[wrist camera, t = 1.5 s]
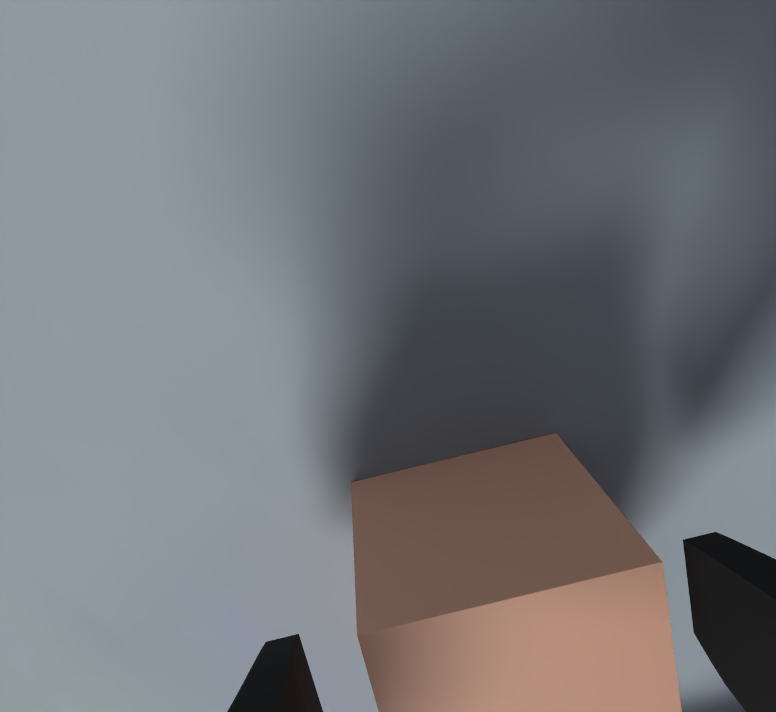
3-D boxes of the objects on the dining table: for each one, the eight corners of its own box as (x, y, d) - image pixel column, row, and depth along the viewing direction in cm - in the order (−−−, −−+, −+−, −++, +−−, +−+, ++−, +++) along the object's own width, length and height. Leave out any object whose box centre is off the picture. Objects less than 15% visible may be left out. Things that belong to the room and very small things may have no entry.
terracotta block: (555, 432, 15) (662, 562, 10) (584, 607, 16) (693, 799, 11) (351, 481, 15) (357, 635, 10) (397, 652, 16) (422, 864, 11)
